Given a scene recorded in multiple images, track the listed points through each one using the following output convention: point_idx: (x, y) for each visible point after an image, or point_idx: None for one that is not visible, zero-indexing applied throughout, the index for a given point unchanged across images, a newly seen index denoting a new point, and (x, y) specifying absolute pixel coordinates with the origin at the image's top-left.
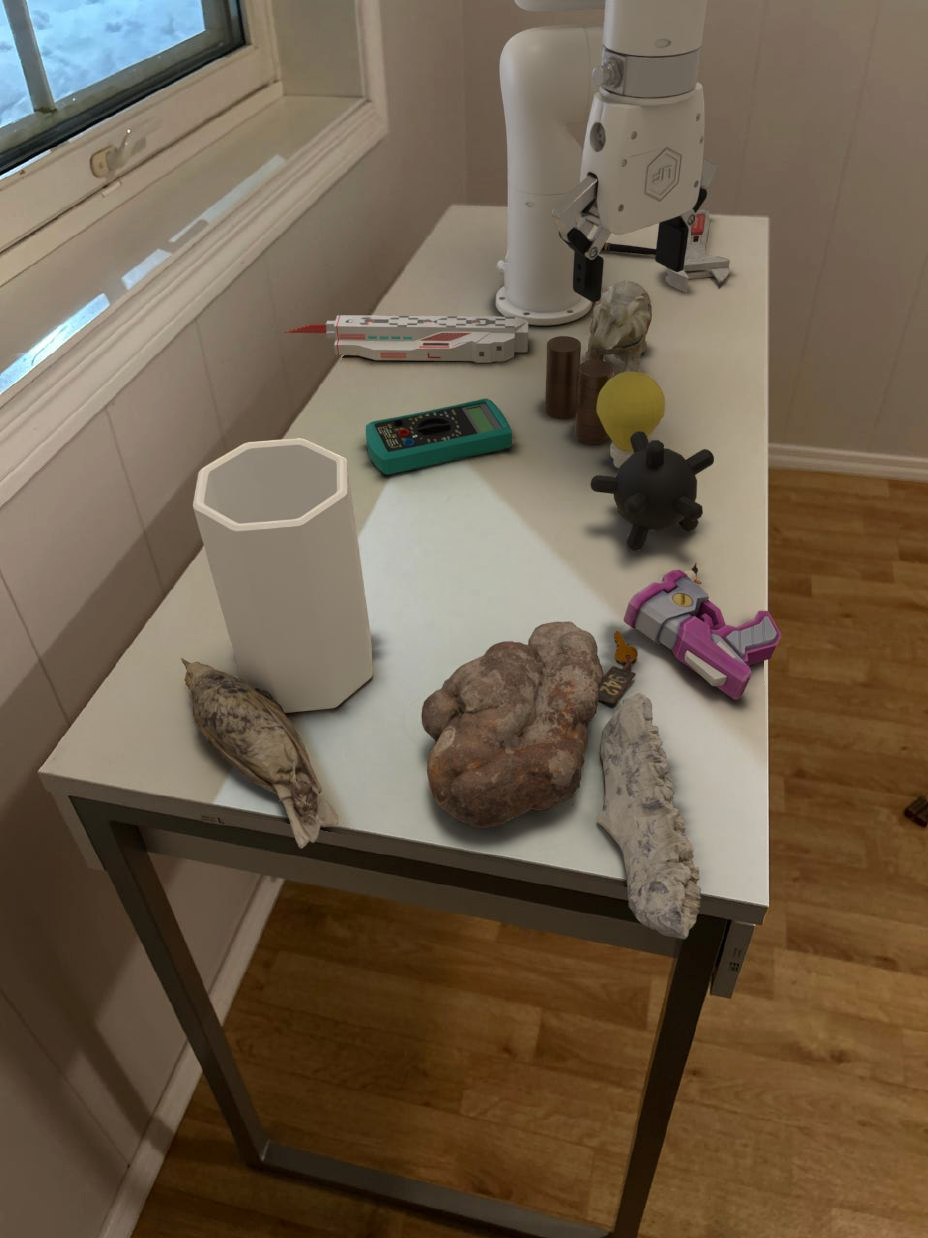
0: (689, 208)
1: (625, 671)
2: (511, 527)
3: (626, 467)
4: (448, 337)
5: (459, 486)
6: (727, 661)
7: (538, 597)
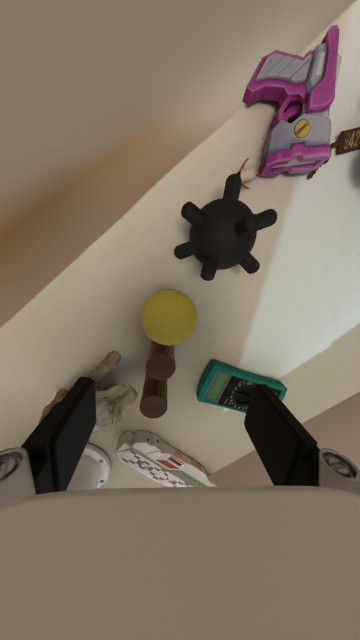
0: (15, 511)
1: (341, 140)
2: (267, 302)
3: (247, 250)
4: (166, 463)
5: (258, 350)
6: (335, 49)
7: (308, 241)
